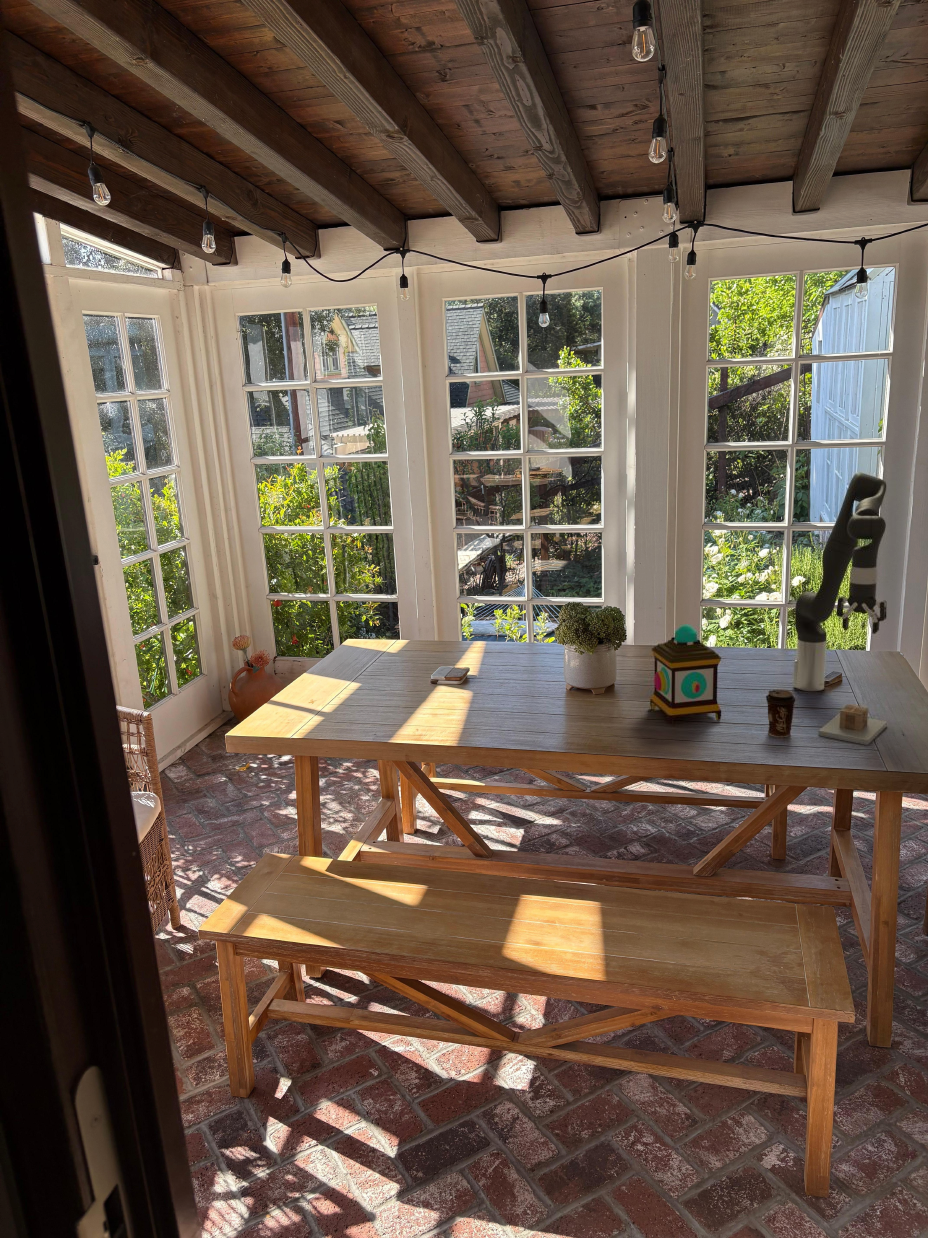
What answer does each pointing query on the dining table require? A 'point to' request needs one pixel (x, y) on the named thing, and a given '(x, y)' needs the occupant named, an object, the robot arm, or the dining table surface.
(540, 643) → the dining table surface
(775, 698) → the coffee cup
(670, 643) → the decorative lantern
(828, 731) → the base plate
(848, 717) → the cardboard box
